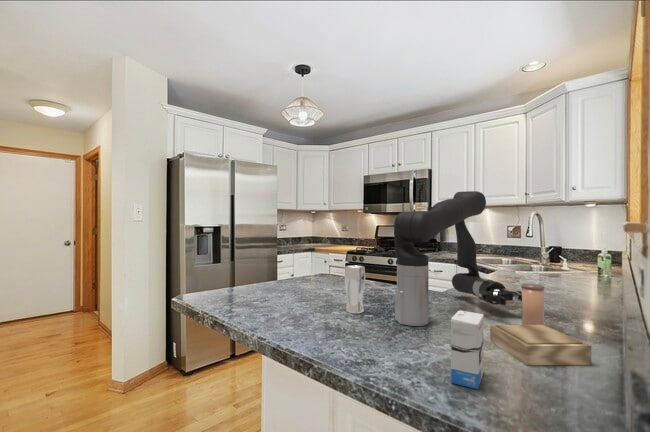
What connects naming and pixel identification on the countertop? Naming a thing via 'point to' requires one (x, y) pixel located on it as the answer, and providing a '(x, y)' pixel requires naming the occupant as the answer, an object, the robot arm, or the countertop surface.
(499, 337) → the base block
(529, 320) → the canister
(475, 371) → the ink box
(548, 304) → the countertop surface
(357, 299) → the beer glass
